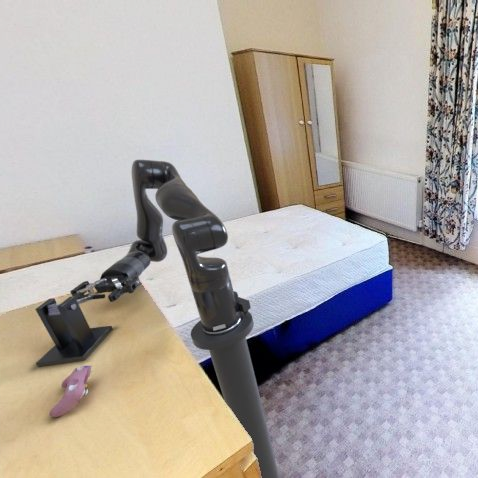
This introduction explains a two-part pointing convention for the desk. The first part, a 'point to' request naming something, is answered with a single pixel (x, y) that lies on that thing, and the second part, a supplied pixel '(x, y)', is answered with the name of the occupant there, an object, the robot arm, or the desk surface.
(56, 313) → the lever
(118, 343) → the desk surface
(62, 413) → the pink curved piece
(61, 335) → the bracket
